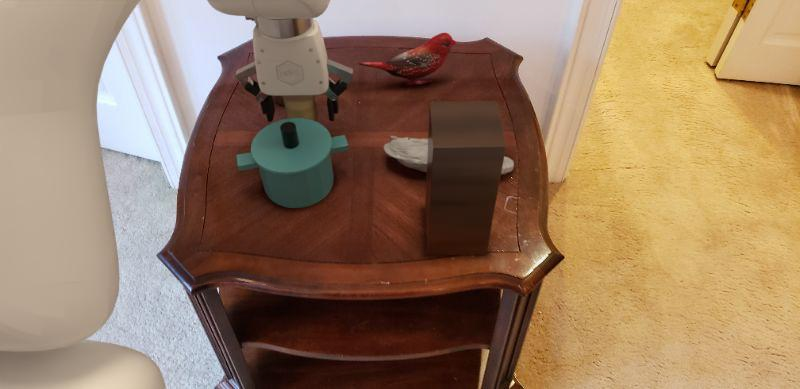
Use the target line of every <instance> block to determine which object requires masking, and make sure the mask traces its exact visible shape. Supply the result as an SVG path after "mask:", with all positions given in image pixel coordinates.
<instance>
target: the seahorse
mask: <svg viewBox="0 0 800 389" xmlns="http://www.w3.org/2000/svg"><path fill="white" fill-rule="evenodd" d="M389 137H390V139H391V141H389V142H387V143H385V144H384V145H383V150H384V153H385V154H386V155H387V156H388V157H389V158H393V159H395V160H396V161H397V162H399V163H400V164H401V165H403V166H404V167H406V168H410V169H413V170H417V171H420V172H424V173H426V174H427V155H428V138H424V137H423V138H416V137H415V138H414V137H409V136H405V137H398V136H396V135H390V136H389ZM514 166H515V162H514V160H513V159H512V158H509V157H508V156H506V155H505V156H504V161H503V166H502V172H501V175H503V176H505V175H506V174H508V173H512V172H513V170H514Z"/></svg>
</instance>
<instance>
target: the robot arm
mask: <svg viewBox="0 0 800 389" xmlns="http://www.w3.org/2000/svg"><path fill="white" fill-rule="evenodd" d="M140 2H141V0H0V389H167V385H166V381H165V379H164V375H163V373H162V371H161V369H160V367H159V365H158V364H157V363H156V362H155V361H154V359H152V358H151V357H150V356H149V355H147V354H145V353H143V352H142V351H139V350H137V349H136V348H132V347H129V346H126V345H120V344H117V343H112V342H111V343H110V342H107V341H106V342H105V341H100V340H91V339H89V338H90V337H92V336H94V335H95V334H96V333H98V332H99V331H100V329H102V328H103V326H105V324H107V322H108V321H109V320H110V318H111V316H112V315H113V312H114V310H115V307H116V304H117V300H118V298H119V292H120V280H121V279H120V278H121V277H120V264H119V252H118V247H117V246H118V245H117V240H116V239H117V238H116V233H115V232H116V231H115V226H114V220H113V219H114V218H113V213H112V207H111V202H110V201H111V200H110V196H109V189H108V182H107V177H106V169H105V165H104V164H105V163H104V160H103V159H104V158H103V152H102V147H101V139H100V138H101V137H100V131H99V130H100V129H99V122H98V95H99V84H100V82H101V77H102V74H103V70H104V66H105V64H106V61H107V59H108V57H109V54H110V52H111V50H112V47H113V46H114V43H115V41H116V40H117V38H118V35H119V34H120V32H121V30H122V28H123V27H124V25H125V24H126V23H127V21H128V19H129V17H130V16H131V14H132V13H133V11H134V10H135V9H136V8H137V6H138V4H139V3H140ZM206 2H207V3H208V4H209V5H210V6H211V7H212V8H213V9H214V10H215V11H217V12H219V13H221V14H224V15H229V16H236V17H244V19H245V20H246V21H252V22H254V24H255V26H254V28H253V30H252V48H253V57H254V61H252V62H250V63H249V64H246V65H244V66H242V67H240V68H238V69H237V70H236V74H235V79H236V80H237V81H238V82H239V83H240V84H241V85H242V86H243V87H244V90H245V91H246V92H248V93H249V94H251V95H253V96H254V97H255V99H256V101H258V102H260V107H261V112H262V115H265V116H266V120H267V122H268V123H273V121H274V117H275V113H276V107H275V102H274V98H273V96H275V97H276V96H287V95H315V96H319V95H324V96H326V97H327V98H326V107H327V116H328V121H330V122H335V115H336V114H339V106H340V105H339V99H338V98H339V97H340V96H341V95H342V94H343V93H344V92H345V91H346V90H347V89H348V86H349V84H350V83H351V82H352V79H353V77H354V69H353V68H352V67H349V66H346V65H344V64H342V63H340V62H337V61H334V60H332V59H329V57H328V53H327V48H326V45H325V39H324V37H323V36H324V35H323V33H322V30H321V26H320V25H319V22H318V21H317V19H316V18H319V17H320V16H322V15H323V14H324V13H325V12H326V10H327V9H328V7H329V5H330V2H331V0H206ZM330 73H331V74H334V75H336V76H338V77H341V78H339V79H338V81H334V80H333V79H332V78H331V77H330ZM255 74H256V78H257V81H256V80H254V79H253V78H251V76H253V75H255Z"/></svg>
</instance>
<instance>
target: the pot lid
mask: <svg viewBox="0 0 800 389" xmlns="http://www.w3.org/2000/svg"><path fill="white" fill-rule="evenodd" d="M331 137H332V136H331V133H330V132H329V130H328V129H327V127H325V126H324V125H323V124H321V123H320V122H319V123H318V122H315V121H313V120H309V119H303V118H290V119H287V118H284V119H281V120H277V121H274V122H271V123H270V124H268V125H266V126H265V127H263V128H262V129H260V130H259V132H257V134H256V135H255V136H254V137H253V139H252V142H251V145H250V152H251V154H252V157H253V159H254V161H255V162H256V164H257V165H258V166H259V167H261V168H262V169H264V170H266V171H268V172H271V173H275V174H281V175H291V174H298V173H302V172H305V171H308V170H311V169H313V168H315V167H316V166H318V165H319V164H321V163H322V162H323V161H324V160H325V159H326V158H327V156H328V155H329V153H330V151H331V147H332V140H331ZM330 154H331V153H330ZM259 167H258V168H259Z"/></svg>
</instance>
